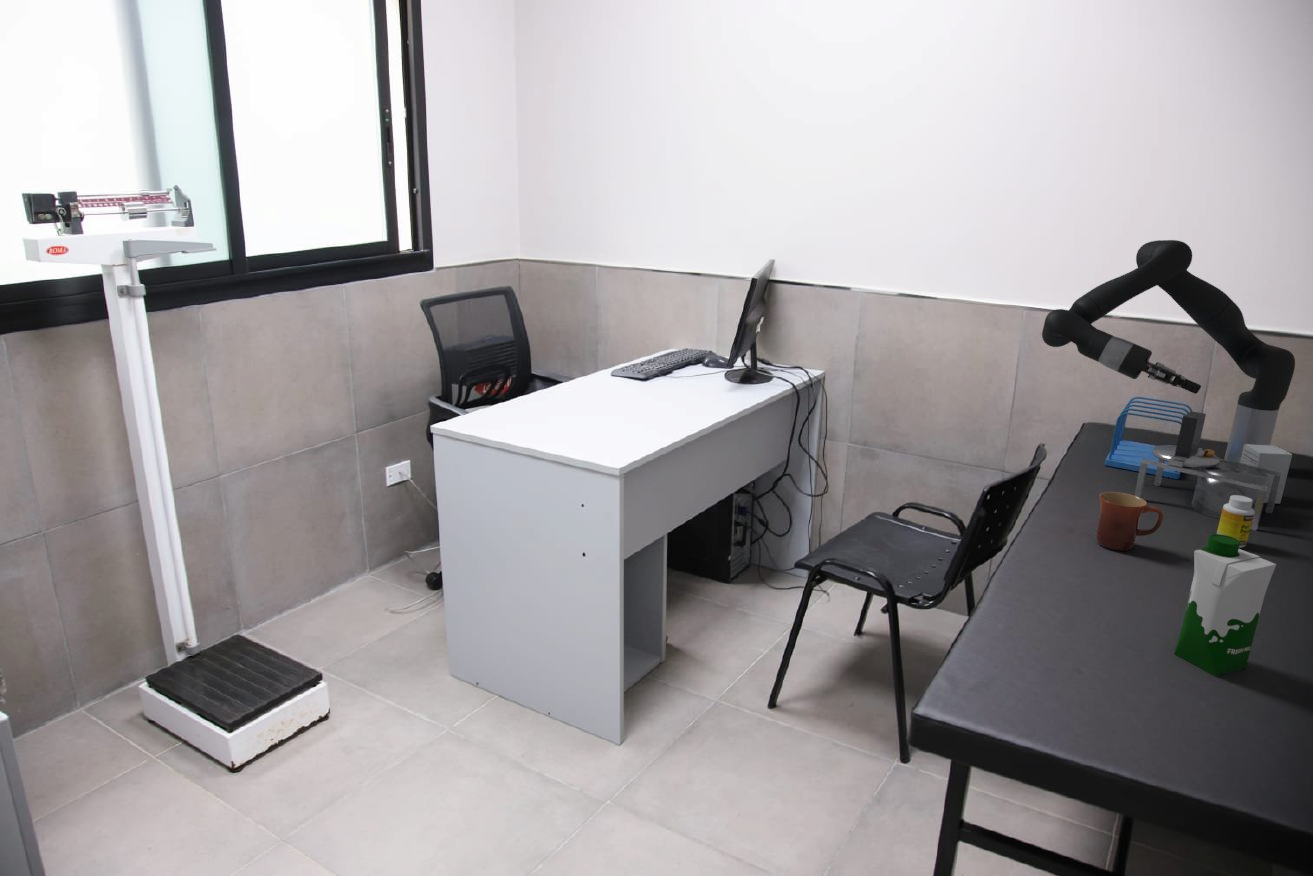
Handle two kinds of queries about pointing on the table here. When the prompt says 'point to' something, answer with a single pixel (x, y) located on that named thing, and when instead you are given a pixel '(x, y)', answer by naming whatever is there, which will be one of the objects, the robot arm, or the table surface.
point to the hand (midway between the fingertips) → (1199, 389)
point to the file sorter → (1133, 452)
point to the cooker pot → (1222, 486)
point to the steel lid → (1188, 446)
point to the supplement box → (1268, 464)
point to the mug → (1122, 520)
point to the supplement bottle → (1237, 519)
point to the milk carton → (1223, 606)
